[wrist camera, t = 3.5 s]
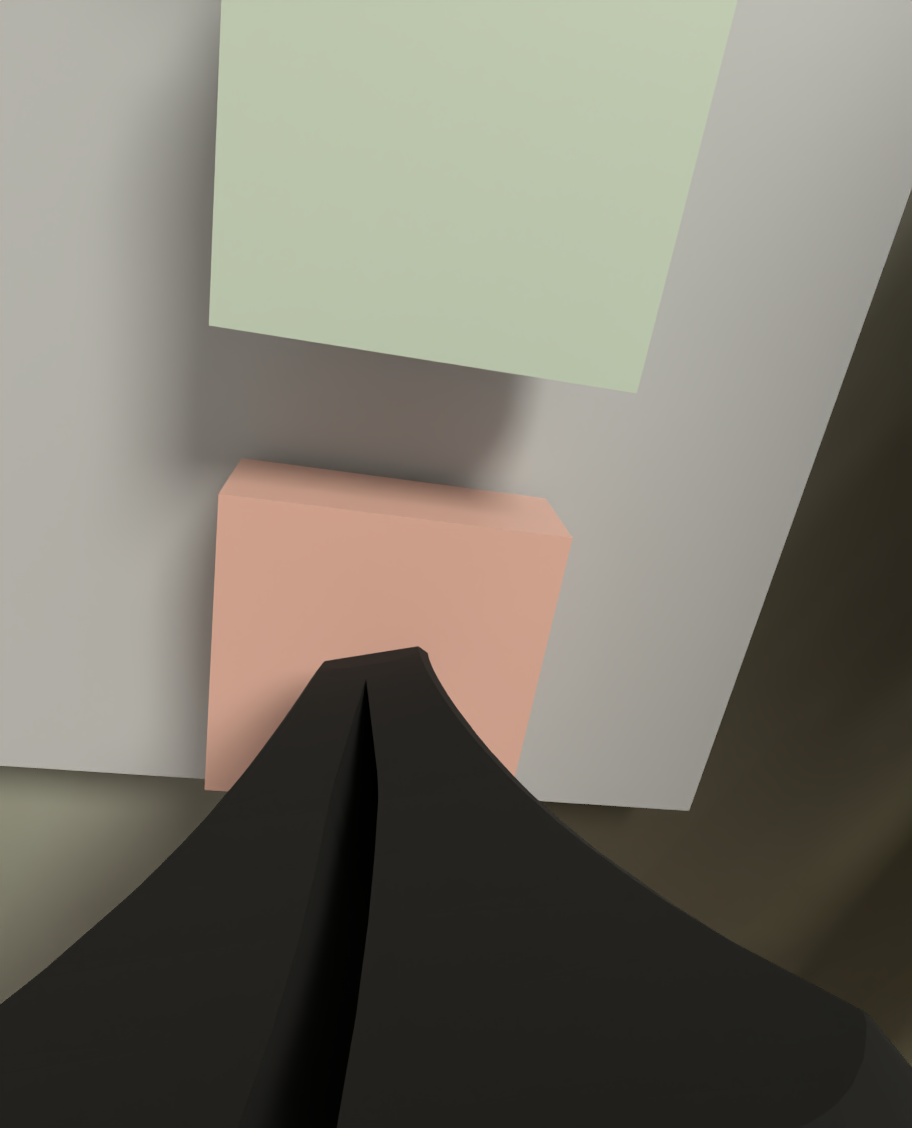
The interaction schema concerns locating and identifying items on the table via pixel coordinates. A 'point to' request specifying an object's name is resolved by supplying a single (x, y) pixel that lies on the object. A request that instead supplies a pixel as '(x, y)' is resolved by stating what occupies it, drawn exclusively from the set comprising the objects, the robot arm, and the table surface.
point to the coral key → (375, 597)
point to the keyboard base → (415, 395)
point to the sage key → (459, 175)
